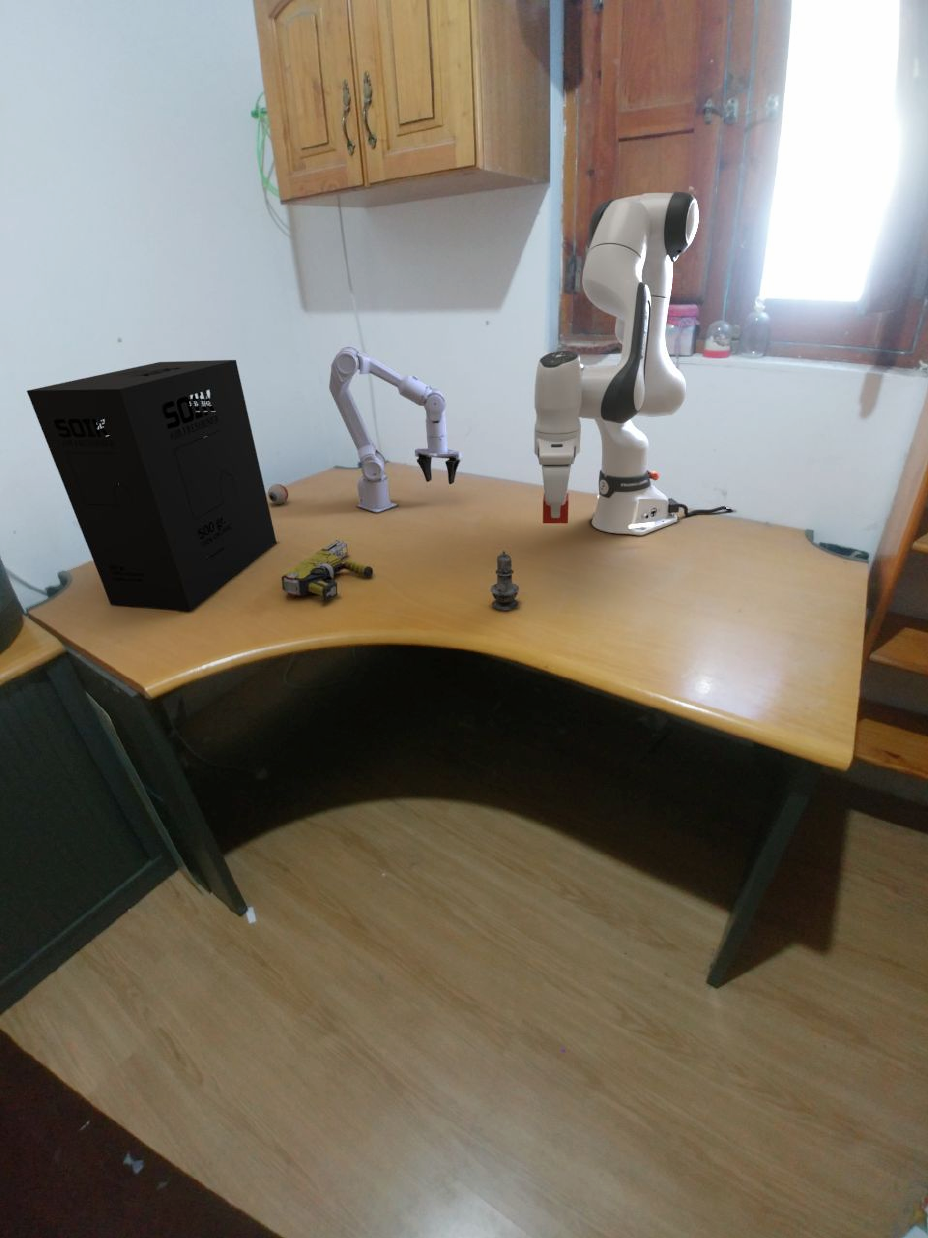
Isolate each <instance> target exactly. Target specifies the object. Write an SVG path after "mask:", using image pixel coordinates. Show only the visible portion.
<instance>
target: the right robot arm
mask: <svg viewBox="0 0 928 1238" xmlns="http://www.w3.org/2000/svg"><path fill="white" fill-rule="evenodd" d="M698 225H699V207H698V202H697V199H696V198H695V197H694V195H693V194H692V193H689V192H686V191H685V192H684V191H676V190H675V192H673V193H672V192H645V193H643V194H638V195H632V196H627V197H622V198H618V199H616V198H612V199H607V200H605V201H603V202H601V203H599V204H598V205H597V206H596V207H595V209H594V210H593V212H592V214H591V216H590V220H589V225H588V241H589V249H588V252H587V255H586V259H585V261H584V266H583V270H582V279H581V280H582V281H581V284H582V289H583V292H584V294H585V296H586V298H588V300H589V302H590V303H592V305H594V307H596V308H597V309H598V310H600V311H602V312H603V313H605V314H608V315H611V316H613V317H615V326H614V334H615V337H616V339H617V341H618V342H619V344H621V345H622V347H621V354H620V355H621V356H620V361H619V362H618V363H617V364H604V365H589V364H588V365H587V364H584V363H582V362H581V357H580V354H578V353H577V352H576V351H571V350H557V351H554V352H549V353H547V354H545V355H543V356H542V357H540V359H539V360H538V363H537V366H536V372H535V373H536V374H535V381H534V398H533V399H534V402H533V403H534V410H535V414H536V419H535V423H534V430H533V433H534V434H533V437H534V439H533V442H534V444H533V445H534V447H533V449H534V451H533V452H534V455H536V457H537V459H538V464H539V465H540V466H541V471H542V483H543V492H544V493H543V495H544V494H545V501H546V504H547V505H551V517H552V518H559V517H560V507H561V505H564V504H565V501H566V496H567V493H568V489H569V482H570V475H571V469H572V465H574V463H575V459H576V457H577V456H578V455H579V454H580V453H581V433H582V431H581V430H582V425H581V424H582V423H581V419H590V420H594V421H595V423H596V426H597V428H598V431H599V434H600V439H601V468H600V470H599V474H598V492H599V493H598V495H597V502H596V507H595V511H594V514H593V517H592V520H591V525H592V526H593V527H594V528H595V529H597V530H599V531H601V532H605V533H611V534H623V535H625V534H626V535H632V536H633V535H634V536H645V535H646V534H650V533H652V532H654V531H657V530H660V529H662V528H665V527H668V526H670V525H672V524H675V523H677V522H678V516H677V515H676V514H677V513H679V511H680V508H681V509H683V514H684V516H685V517H691V516H693V515H696V514H712V513H716V512H720V511H722V510H723V511H727V512H728V513H733V512H734V510H733V509H732V508H731V507H729V508H730V509H726V507H725V506H726V505H722V506H718V507H715V508H711V509H710V508H709V509H694V510H692V511H689V507H688V506H687V505H686V504H684V503H681V502H680V503H679V502H677V501H676V500H675V499H673V498H672V497H670V498H668V497H667V496H666V495H665V494H664V493H663V492H661V491H660V490H659V489H658V488H656V487H655V486H654V485H652V483H651V480H653V481H658V479H659V478H660V473H659V472H657V471H654V470H651V471H649V470H648V469H647V466H648V458H649V457H648V456H649V446H650V443H649V440H648V437H647V436H646V435H645V433H643V432H642V431H641V430H639V429H638V428H637V427H636V426H634V423H633V422H632V420H631V419H633V418H634V417H645V418H657V417H666V416H672V415H674V414H675V413H676V412H678V411H679V409H680V408H681V407H682V405H683V403H684V402H685V399H686V396H687V382H686V380H685V377H684V375H683V373H682V372H681V371H680V370H679V369H678V368H676V366H675V364H674V363H673V362H672V360H671V358H670V355H669V352H668V349H667V344H666V329H667V320H668V312H669V305H670V301H671V300H670V299H671V292H672V284H673V263H675V262H676V261H677V260H678V258H679V256H680V255H682V254H683V253H684V252H685V251H686V250H687V249H688V248H689V247H690V245H691V244H692V242H693V241H694V238H695V235H696V233H697V229H698ZM675 513H676V514H675Z"/></svg>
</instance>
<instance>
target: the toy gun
mask: <svg viewBox="0 0 928 1238" xmlns="http://www.w3.org/2000/svg"><path fill="white" fill-rule="evenodd" d="M345 548H348V543H347V542H346V541H343V540H342V541H341V540H339V539H338V540H335V541H334V542H333V543H331V544H330V545H327V546H326V547H325V548H321V549H320V550H318V551H317V552H316V553H314V554H312V555H311V556H310V557H307V559H305V560H304V561H302V562H300V563H299V564H298V565H296V566H294V567H293V568H291V569H290V570H288V571H287V572H285V573H284V574H282V576H281V585H282V586H281V587H282V590H283V591H284V592H285V593H287V596H292V597H295V596H302V597H303V596H307V595H310V594H315V595H318V596H320V597H322V601H323V602H325V603H327V602H328V601H330V600H332V599H333V598H335V597H337V596H338V594H339V593H338V582H337V581H336V580H334V578H335V577H334V575H336V574H337V573H340V572H342V571H343V570H346V571H349V572H353V573H355V574H358V575H361V576H364V577H366V578H370V577H372V576H373V575H374V569H373V567H372V566H370V565H365V564H361V563H359V562H357V561H352V560H349V559H347V560H345V561H344V562H342V560H343V558H344V557H347V556H348V554H349V553H348V549H346V552H344V549H345Z"/></svg>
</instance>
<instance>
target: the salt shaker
mask: <svg viewBox="0 0 928 1238" xmlns="http://www.w3.org/2000/svg"><path fill="white" fill-rule="evenodd" d="M494 573H495V575H496V583H495V584H493V585H491V587H490V592H491V594H492V597H493V598H494V600H493V602H492V603H491V605H492V607H493V608H494V609H495V610H499V611H511V610H514V609H516V608H518V605H519V602H518V601H517V600H516V598H517V596H518V595H519V594H518V592H520V587H519V585H518V584H516V583H514V582H513V574H514V570H513V568H512V556H511V555H509V554H507V552H506V551H505V550H503V551H502V554H499V555H498V556H497V558H496V570H495V572H494Z"/></svg>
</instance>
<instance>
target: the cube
mask: <svg viewBox="0 0 928 1238" xmlns="http://www.w3.org/2000/svg"><path fill="white" fill-rule="evenodd" d="M569 494H570V493H569V492H567V496H566V501H565V504H564V505H561V507H560V517H559V518H552V517H551V505H547V504H546V501H545V494H544V493H543V497H542V524H569V503H570V502H569V501H570V500H569V496H570V495H569Z"/></svg>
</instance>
